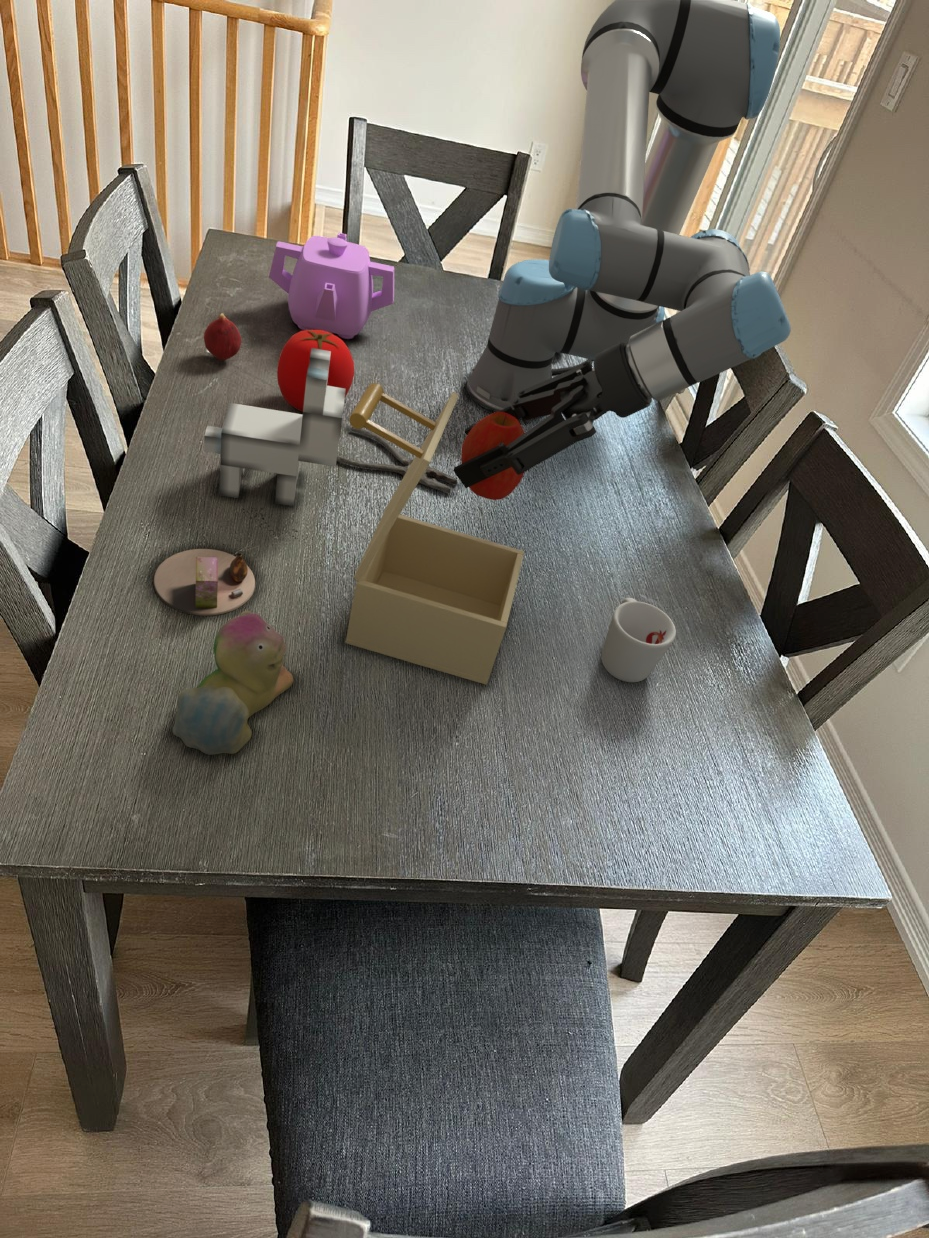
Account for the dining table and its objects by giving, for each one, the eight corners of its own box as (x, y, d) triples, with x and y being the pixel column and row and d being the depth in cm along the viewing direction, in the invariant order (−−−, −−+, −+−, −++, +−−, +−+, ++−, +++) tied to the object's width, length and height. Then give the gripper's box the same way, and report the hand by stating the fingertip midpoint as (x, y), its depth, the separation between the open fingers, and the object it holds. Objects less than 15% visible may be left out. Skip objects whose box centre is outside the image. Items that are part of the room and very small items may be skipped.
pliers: (342, 422, 139) (465, 457, 139) (341, 426, 140) (464, 461, 140) (324, 453, 132) (453, 490, 132) (323, 458, 132) (452, 495, 132)
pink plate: (257, 615, 106) (259, 588, 103) (151, 615, 103) (150, 586, 100) (253, 550, 115) (254, 523, 112) (154, 548, 111) (153, 519, 108)
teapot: (321, 355, 154) (331, 271, 144) (255, 309, 161) (260, 225, 151) (399, 334, 167) (413, 255, 156) (335, 292, 174) (344, 213, 164)
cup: (584, 626, 118) (603, 582, 112) (640, 632, 119) (662, 588, 114) (600, 687, 110) (621, 643, 105) (660, 692, 112) (684, 649, 106)
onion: (247, 360, 148) (249, 315, 143) (226, 373, 144) (227, 327, 138) (218, 347, 149) (219, 302, 144) (196, 359, 145) (196, 313, 140)
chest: (505, 607, 117) (524, 551, 110) (486, 685, 106) (506, 627, 100) (377, 569, 117) (389, 510, 110) (345, 643, 106) (355, 582, 100)
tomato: (300, 433, 136) (308, 358, 128) (259, 395, 141) (264, 320, 133) (365, 416, 143) (376, 345, 135) (324, 381, 149) (332, 310, 140)
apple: (442, 471, 110) (460, 395, 102) (501, 467, 113) (522, 393, 106) (468, 512, 105) (488, 435, 97) (529, 507, 108) (553, 432, 101)
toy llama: (209, 461, 126) (212, 330, 113) (333, 480, 129) (350, 354, 116) (200, 492, 121) (202, 359, 107) (329, 511, 124) (347, 383, 110)
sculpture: (240, 772, 90) (244, 708, 83) (163, 743, 91) (161, 678, 84) (298, 675, 101) (306, 613, 94) (229, 651, 101) (232, 586, 95)
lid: (459, 394, 98) (386, 352, 97) (430, 462, 88) (347, 416, 86) (392, 509, 110) (326, 473, 109) (359, 581, 99) (285, 542, 98)
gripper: (657, 448, 90) (470, 532, 100) (653, 358, 106) (492, 438, 116) (623, 389, 86) (433, 481, 97) (625, 303, 102) (461, 391, 112)
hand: (465, 457), depth 106 cm, fingers closed on apple, 8 cm apart
